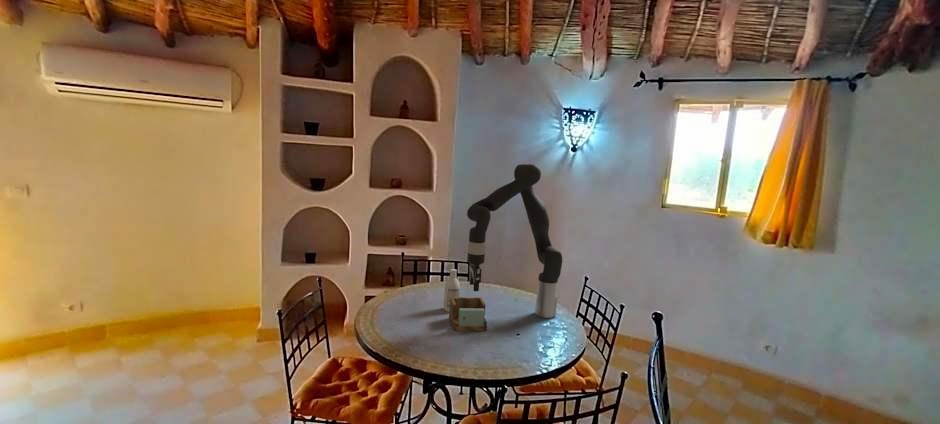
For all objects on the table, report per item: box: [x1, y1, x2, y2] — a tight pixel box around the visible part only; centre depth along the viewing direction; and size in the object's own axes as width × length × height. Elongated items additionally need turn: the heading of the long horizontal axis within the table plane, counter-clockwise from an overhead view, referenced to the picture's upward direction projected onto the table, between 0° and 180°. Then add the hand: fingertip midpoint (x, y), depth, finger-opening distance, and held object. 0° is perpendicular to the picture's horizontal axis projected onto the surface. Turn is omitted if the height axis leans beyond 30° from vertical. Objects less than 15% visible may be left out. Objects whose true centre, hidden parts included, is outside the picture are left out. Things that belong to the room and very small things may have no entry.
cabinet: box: [448, 296, 488, 332], centre depth 225 cm, size 14×14×10 cm
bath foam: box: [443, 268, 461, 313], centre depth 240 cm, size 7×7×20 cm
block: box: [458, 308, 486, 327], centre depth 220 cm, size 11×3×9 cm, turn 101°
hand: (474, 287), depth 219 cm, fingers open, 8 cm apart
